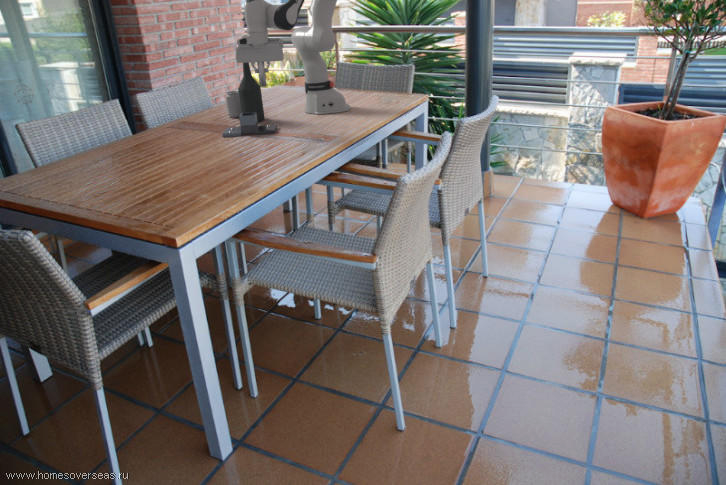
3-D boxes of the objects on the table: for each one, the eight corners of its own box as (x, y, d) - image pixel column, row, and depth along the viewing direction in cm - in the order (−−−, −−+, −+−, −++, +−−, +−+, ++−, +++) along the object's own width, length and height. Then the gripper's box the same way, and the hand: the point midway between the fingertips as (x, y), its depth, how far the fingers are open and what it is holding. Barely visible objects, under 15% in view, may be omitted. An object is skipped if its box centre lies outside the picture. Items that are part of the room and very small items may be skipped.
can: (245, 114, 284) (242, 89, 279) (241, 118, 277) (237, 93, 272) (231, 114, 285) (227, 90, 280) (226, 118, 278) (222, 93, 273)
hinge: (277, 127, 255) (274, 109, 252) (275, 133, 246) (272, 115, 243) (226, 131, 255) (223, 113, 251) (222, 137, 246) (219, 118, 242)
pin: (267, 85, 250) (264, 56, 245) (266, 86, 247) (263, 57, 242) (260, 85, 250) (257, 57, 245) (259, 86, 247) (256, 57, 242)
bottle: (259, 123, 265) (250, 56, 252) (240, 123, 267) (229, 56, 254) (267, 118, 274) (258, 52, 261) (248, 118, 276) (238, 53, 263)
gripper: (283, 37, 244) (286, 70, 250) (235, 39, 243) (239, 72, 249) (282, 38, 238) (285, 72, 244) (232, 40, 237) (237, 75, 243)
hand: (261, 72), depth 246 cm, fingers closed on pin, 3 cm apart
